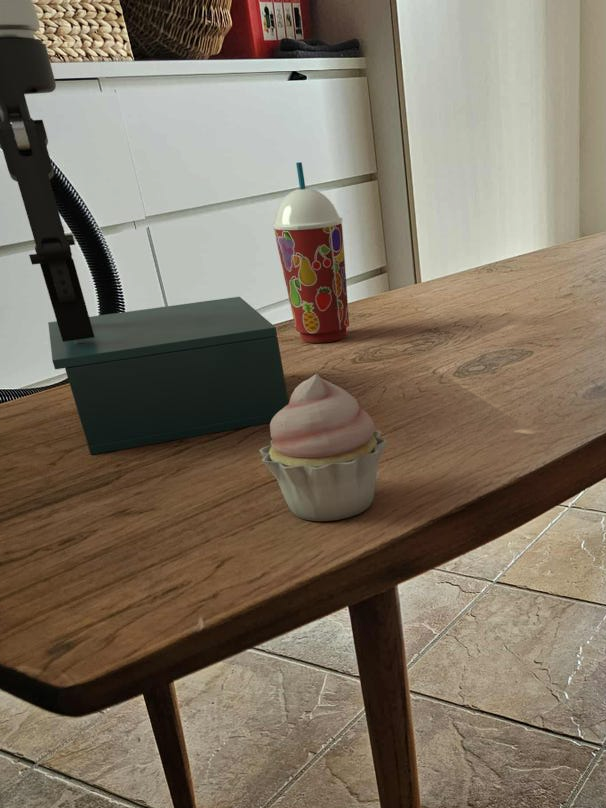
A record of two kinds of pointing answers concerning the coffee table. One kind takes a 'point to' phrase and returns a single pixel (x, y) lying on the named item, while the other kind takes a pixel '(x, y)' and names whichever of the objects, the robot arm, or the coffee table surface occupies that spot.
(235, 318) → the lid
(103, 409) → the dark green box
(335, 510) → the cupcake
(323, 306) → the smoothie
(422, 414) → the coffee table surface
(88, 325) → the robot arm
